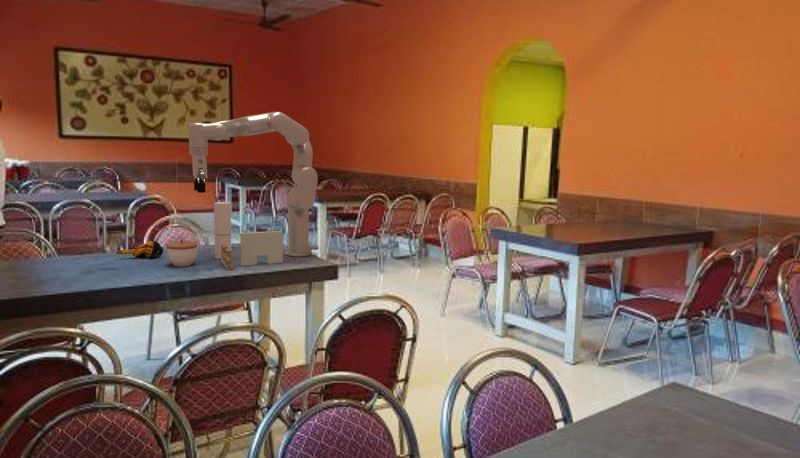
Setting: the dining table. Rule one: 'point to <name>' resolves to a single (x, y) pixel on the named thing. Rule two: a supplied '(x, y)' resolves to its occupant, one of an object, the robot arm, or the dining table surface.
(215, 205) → the cylindrical container
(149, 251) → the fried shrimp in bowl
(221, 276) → the dining table surface
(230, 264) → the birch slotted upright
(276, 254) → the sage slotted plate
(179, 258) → the lidded bowl
